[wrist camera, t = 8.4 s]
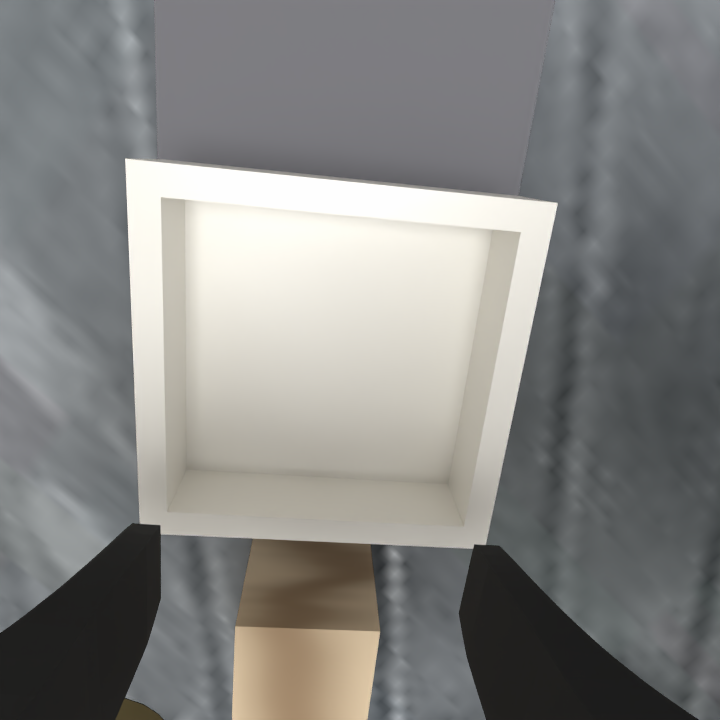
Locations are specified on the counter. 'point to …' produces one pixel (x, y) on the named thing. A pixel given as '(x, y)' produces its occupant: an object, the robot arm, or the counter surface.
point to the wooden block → (306, 632)
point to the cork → (136, 712)
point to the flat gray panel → (353, 87)
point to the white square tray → (325, 352)
